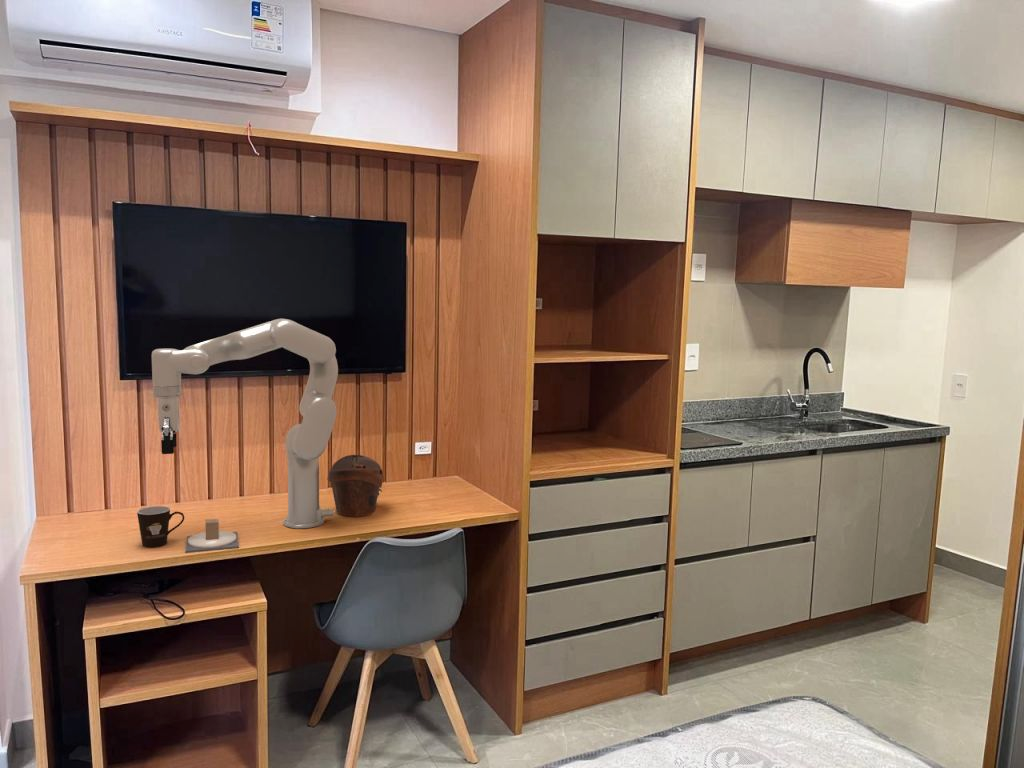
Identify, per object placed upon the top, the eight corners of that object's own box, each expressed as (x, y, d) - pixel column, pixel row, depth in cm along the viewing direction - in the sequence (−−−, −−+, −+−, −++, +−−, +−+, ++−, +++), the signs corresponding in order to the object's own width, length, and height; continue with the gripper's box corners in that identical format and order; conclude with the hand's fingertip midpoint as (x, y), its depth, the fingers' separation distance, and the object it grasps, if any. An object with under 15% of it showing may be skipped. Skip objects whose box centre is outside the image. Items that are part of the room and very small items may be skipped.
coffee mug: (133, 549, 217) (131, 514, 216) (145, 539, 225) (144, 506, 224) (175, 549, 218) (174, 514, 216) (186, 539, 226) (185, 506, 225)
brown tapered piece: (356, 523, 245) (356, 467, 243) (315, 511, 257) (315, 459, 255) (396, 512, 259) (397, 460, 258) (356, 502, 271) (356, 451, 270)
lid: (235, 532, 232) (235, 513, 231) (236, 545, 220) (236, 525, 219) (188, 536, 227) (188, 516, 227) (187, 550, 215) (186, 529, 215)
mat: (237, 533, 233) (237, 531, 233) (238, 547, 220) (238, 546, 220) (187, 537, 228) (187, 535, 228) (185, 552, 215) (185, 551, 215)
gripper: (179, 395, 215) (181, 455, 217) (183, 387, 231) (185, 444, 233) (149, 396, 212) (152, 457, 214) (155, 388, 228) (157, 445, 230)
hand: (169, 450), depth 223 cm, fingers open, 9 cm apart
